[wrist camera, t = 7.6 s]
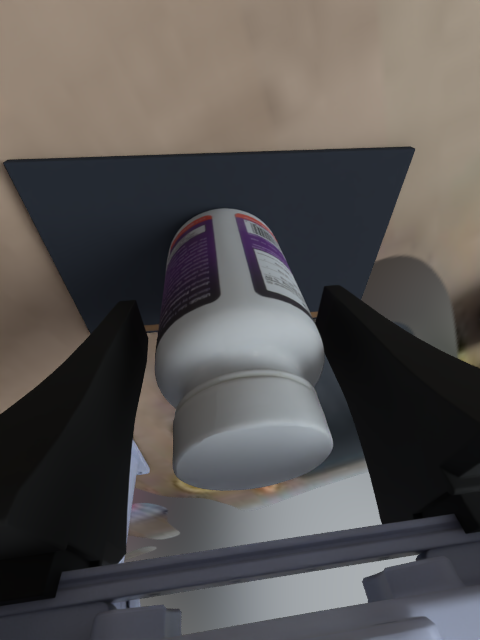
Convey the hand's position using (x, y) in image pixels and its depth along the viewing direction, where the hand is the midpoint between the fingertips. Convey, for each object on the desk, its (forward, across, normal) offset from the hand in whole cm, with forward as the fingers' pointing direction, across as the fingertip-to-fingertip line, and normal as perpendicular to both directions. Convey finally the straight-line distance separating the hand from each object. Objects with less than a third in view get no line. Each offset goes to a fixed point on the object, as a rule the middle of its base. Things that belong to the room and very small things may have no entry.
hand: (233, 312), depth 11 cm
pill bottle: (+4, 0, 0) cm, 4 cm away
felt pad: (+4, 0, 0) cm, 4 cm away
